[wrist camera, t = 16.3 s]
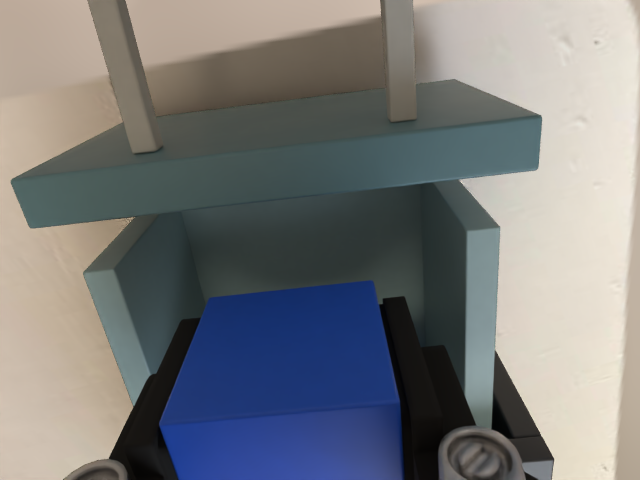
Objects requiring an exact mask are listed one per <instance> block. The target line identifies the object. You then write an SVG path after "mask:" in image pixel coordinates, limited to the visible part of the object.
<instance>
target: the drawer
mask: <svg viewBox="0 0 640 480" xmlns="http://www.w3.org/2000/svg"><path fill="white" fill-rule="evenodd" d="M380 2H381V19H382V36H383V52H384V69H385V86H386V88H380V89H372V90H364V91H357V92H349V93H341V94H333V95H325V96H317V97H309V98H301V99H293V100H285V101H277V102H269V103H261V104H253V105H245V106H237V107H229V108H221V109H214V110H206V111H198V112H190V113H182V114H174V115H166V116H158V117H156V115H155V111H154V107H153V104H152V100H151V96H150V92H149V88H148V85H147V81H146V77H145V73H144V69H143V66H142V62H141V58H140V55H139V51H138V47H137V43H136V39H135V35H134V32H133V28H132V24H131V20H130V17H129V13H128V9H127V5H126V1H125V0H88V4H89V7H90V11H91V14H92V17H93V21H94V24H95V28H96V31H97V35H98V38H99V41H100V45H101V48H102V52H103V55H104V58H105V62H106V65H107V68H108V72H109V75H110V79H111V82H112V86H113V89H114V92H115V96H116V99H117V103H118V106H119V109H120V113H121V116H122V120H123V123H121V124H119V125H117V126H115V127H113V128H111V129H109V130H107V131H105V132H103V133H101V134H99V135H97V136H95V137H93V138H91V139H89V140H87V141H85V142H84V143H82V144H80V145H78V146H76V147H74V148H72V149H70V150H68V151H66V152H64V153H62V154H60V155H58V156H56V157H54V158H52V159H50V160H48V161H46V162H44V163H42V164H40V165H38V166H37V167H35V168H33V169H31V170H29V171H27V172H25V173H23V174H21V175H19V176H17V177H15V178H13V179H12V180H11V184H12V187H13V189H14V192H15V194H16V197H17V199H18V201H19V204H20V206H21V209H22V211H23V213H24V216H25V218H26V221H27V223H28V225H29V227H30V228H42V227H51V226H59V225H68V224H77V223H85V222H94V221H103V220H111V219H120V218H129V217H135V218H134V219H133V220H132V221H131V222H130V223H129V224H128V225H127V226H126V228H125V229H124V230H123V231H122V232H121V233H120V234H119V235H118V236H117V237H116V238H115V239H114V240H113V241H112V242H111V243H110V245H109V246H108V247H107V248H106V249H105V250H104V251H103V252H102V253H101V254H100V255H99V256H98V257H97V258H96V259H95V260H94V262H93V263H92V264H91V265H90V266H89V267H88V268H87V269H86V270H85V271H84V272H83V275H84V278H85V280H86V283H87V286H88V288H89V291H90V293H91V296H92V299H93V301H94V304H95V307H96V309H97V312H98V315H99V317H100V320H101V322H102V325H103V328H104V330H105V333H106V336H107V338H108V341H109V343H110V346H111V349H112V351H113V354H114V357H115V359H116V362H117V365H118V367H119V370H120V372H121V375H122V378H123V380H124V383H125V386H126V388H127V391H128V393H129V396H130V399H131V401H132V404H133V407H134V405H135V403H136V401H137V399H138V397H139V395H140V393H141V391H142V389H143V386H144V384H145V382H146V380H147V379H148V377H149V376H150V375H152V374H156V373H157V371H158V369H159V366H160V364H161V362H162V360H163V358H164V356H165V354H166V351H167V349H168V347H169V345H170V343H171V341H172V338H173V336H174V334H175V332H176V330H177V328H178V325H179V323H180V322H181V320H183V319H190V318H200V317H202V314H203V312H204V309H205V307H206V304H207V302H208V299H209V298H211V297H219V296H228V295H238V294H247V293H256V292H266V291H275V290H284V289H293V288H303V287H312V286H321V285H331V284H340V283H349V282H359V281H368V280H372V281H373V282H374V285H375V290H376V294H377V299H378V303H379V304H383V298H390V297H399V296H405V299H406V302H407V305H408V308H409V311H410V314H411V318H412V321H413V324H414V327H415V330H416V333H417V336H418V340H419V343H420V346H421V347H427V346H437V345H444V346H445V348H446V350H447V352H448V355H449V357H450V360H451V362H452V365H453V367H454V370H455V372H456V375H457V377H458V380H459V382H460V385H461V388H462V390H463V393H464V395H465V398H466V400H467V403H468V405H469V408H470V410H471V413H472V415H473V418H474V420H475V423H476V426H480V427H486V428H489V429H491V426H492V403H493V381H494V358H495V335H496V312H497V289H498V266H499V243H500V226H499V225H498V224H497V223H496V222H495V221H494V219H493V218H492V217H491V216H490V215H489V214H488V213H487V212H486V210H485V209H484V208H483V207H482V206H481V205H480V204H479V203H478V201H477V200H476V199H475V198H474V197H473V196H472V195H471V194H470V192H469V191H468V190H467V189H466V188H465V187H464V186H463V185H462V183H461V182H460V181H459V180H458V179H466V178H475V177H483V176H492V175H501V174H509V173H518V172H526V171H534V170H537V169H538V165H539V152H540V139H541V126H542V117H541V115H539V114H536V113H534V112H532V111H529V110H527V109H524V108H522V107H520V106H517V105H515V104H512V103H510V102H508V101H505V100H503V99H500V98H498V97H496V96H493V95H491V94H489V93H486V92H484V91H481V90H479V89H477V88H474V87H472V86H469V85H467V84H465V83H462V82H460V81H457V80H455V79H452V80H444V81H436V82H428V83H420V84H416V80H415V50H414V21H413V0H380Z"/></svg>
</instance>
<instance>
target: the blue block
mask: <svg viewBox="0 0 640 480" xmlns="http://www.w3.org/2000/svg"><path fill="white" fill-rule="evenodd" d="M159 426H160V429H161V432H162V435H163V438H164V441H165V443H166V446H167V449H168V452H169V455H170V457H171V460H172V463H173V466H174V469H175V472H176V474H177V477H178V480H405V474H404V458H403V443H402V426H401V411H400V399H399V395H398V390H397V386H396V381H395V377H394V372H393V367H392V363H391V358H390V354H389V349H388V344H387V340H386V335H385V331H384V326H383V322H382V317H381V312H380V308H379V303H378V299H377V294H376V290H375V285H374V282H373V281H372V280H368V281H359V282H349V283H340V284H331V285H321V286H312V287H303V288H293V289H284V290H275V291H266V292H256V293H247V294H238V295H228V296H219V297H211V298H209V299H208V302H207V304H206V307H205V309H204V312H203V314H202V317H201V319H200V322H199V324H198V327H197V329H196V332H195V334H194V337H193V339H192V342H191V344H190V347H189V349H188V352H187V354H186V357H185V359H184V362H183V364H182V367H181V369H180V372H179V374H178V377H177V380H176V382H175V385H174V387H173V390H172V392H171V395H170V397H169V400H168V402H167V405H166V407H165V410H164V412H163V415H162V417H161V420H160V423H159Z"/></svg>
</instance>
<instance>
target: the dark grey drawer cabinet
mask: <svg viewBox="0 0 640 480" xmlns="http://www.w3.org/2000/svg"><path fill="white" fill-rule="evenodd" d="M491 430H494V431H496V432H499V433H500V434H502V435H503V436H504V437H506V438H507V439H509V440H510V441H511V443H512V444H513V445H514V446H515V447H516V449H517V451H518V453H519V455H520V458H521V461H522V465H523V469H524V472H526V473H528V474H530V475H531V476H533V477H535V478H537V479H539V480H552V472H553V464H554V458H553V456H552V454H551V452H550V450H549V449H548V447H547V445H546V443H545V441H544V439H543V437H541V434H540V432H539V430H538V428H537V427H536V425H535V423H534V421H533V419H532V417H531V415H530V414H529V412H528V410H527V408H526V406H525V404H524V402H523V401H522V399H521V397H520V395H519V393H518V391H517V389H516V388H515V386H514V384H513V382H512V380H511V378H510V376H509V375H508V373H507V371H506V369H505V367H504V365H503V363H502V362H501V360H500V358H499V356H498V354H497V352H496V351H495V358H494V381H493V403H492V426H491Z"/></svg>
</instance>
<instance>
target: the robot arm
mask: <svg viewBox="0 0 640 480" xmlns="http://www.w3.org/2000/svg"><path fill="white" fill-rule="evenodd" d="M379 308H380V312H381V317H382V322H383V326H384V331H385V335H386V340H387V344H388V349H389V354H390V358H391V363H392V367H393V372H394V377H395V381H396V386H397V390H398V395H399V399H400V411H401V426H402V443H403V458H404V474H405V480H539V479H537V478H535V477H533V476H531V475H530V474H528V473H526V472H524V469H523V465H522V461H521V458H520V455H519V453H518V451H517V449H516V447H515V446H514V445H513V444H512V443H511V441H510V440H509V439H507V438H506V437H504V436H503V435H502V434H500V433H499V432H496V431H494V430H491V429H489V428H486V427H480V426H476V423H475V420H474V418H473V415H472V413H471V410H470V408H469V405H468V403H467V400H466V398H465V395H464V393H463V390H462V388H461V385H460V382H459V380H458V377H457V375H456V372H455V370H454V367H453V365H452V362H451V360H450V357H449V355H448V352H447V350H446V348H445V346H444V345H437V346H427V347H421V346H420V343H419V340H418V336H417V333H416V330H415V327H414V324H413V321H412V318H411V314H410V311H409V308H408V305H407V302H406V299H405V296H399V297H390V298H383V304H379ZM200 319H201V317H200V318H190V319H183V320H181V322H180V323H179V325H178V328H177V330H176V332H175V334H174V336H173V338H172V341H171V343H170V345H169V347H168V349H167V351H166V354H165V356H164V358H163V360H162V362H161V364H160V366H159V369H158V371H157V373H156V374H152V375H150V376H149V377H148V379H147V380H146V382H145V384H144V386H143V389H142V391H141V393H140V395H139V397H138V399H137V401H136V403H135V405H134V407H133V409H132V411H131V413H130V415H129V418H128V420H127V422H126V424H125V426H124V428H123V430H122V432H121V434H120V436H119V438H118V440H117V442H116V444H115V447H114V449H113V451H112V453H111V455H110V457H109V459H103V460H96V461H94V462H91V463H88V464H85V465H83V466H82V467H80V468H78V469H76V470H75V471H73V472H72V473H71V474H69V475H68V476H67V477H66V478H64V479H63V480H178V477H177V474H176V472H175V469H174V466H173V463H172V460H171V457H170V455H169V452H168V449H167V446H166V443H165V441H164V438H163V435H162V432H161V429H160V426H159V423H160V420H161V417H162V415H163V412H164V410H165V407H166V405H167V402H168V400H169V397H170V395H171V392H172V390H173V387H174V385H175V382H176V380H177V377H178V374H179V372H180V369H181V367H182V364H183V362H184V359H185V357H186V354H187V352H188V349H189V347H190V344H191V342H192V339H193V337H194V334H195V332H196V329H197V327H198V324H199V322H200Z"/></svg>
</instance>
